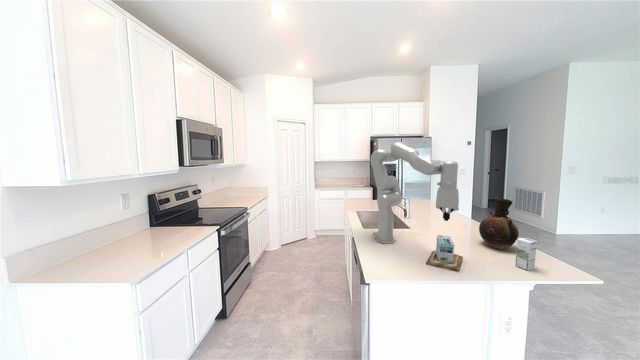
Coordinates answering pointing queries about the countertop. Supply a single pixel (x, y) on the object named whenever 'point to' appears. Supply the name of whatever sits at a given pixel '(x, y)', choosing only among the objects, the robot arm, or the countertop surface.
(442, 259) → the light bulb box
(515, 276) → the countertop surface
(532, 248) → the syrup box
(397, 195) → the robot arm
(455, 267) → the brown shallow tray
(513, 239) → the ceramic vessel
